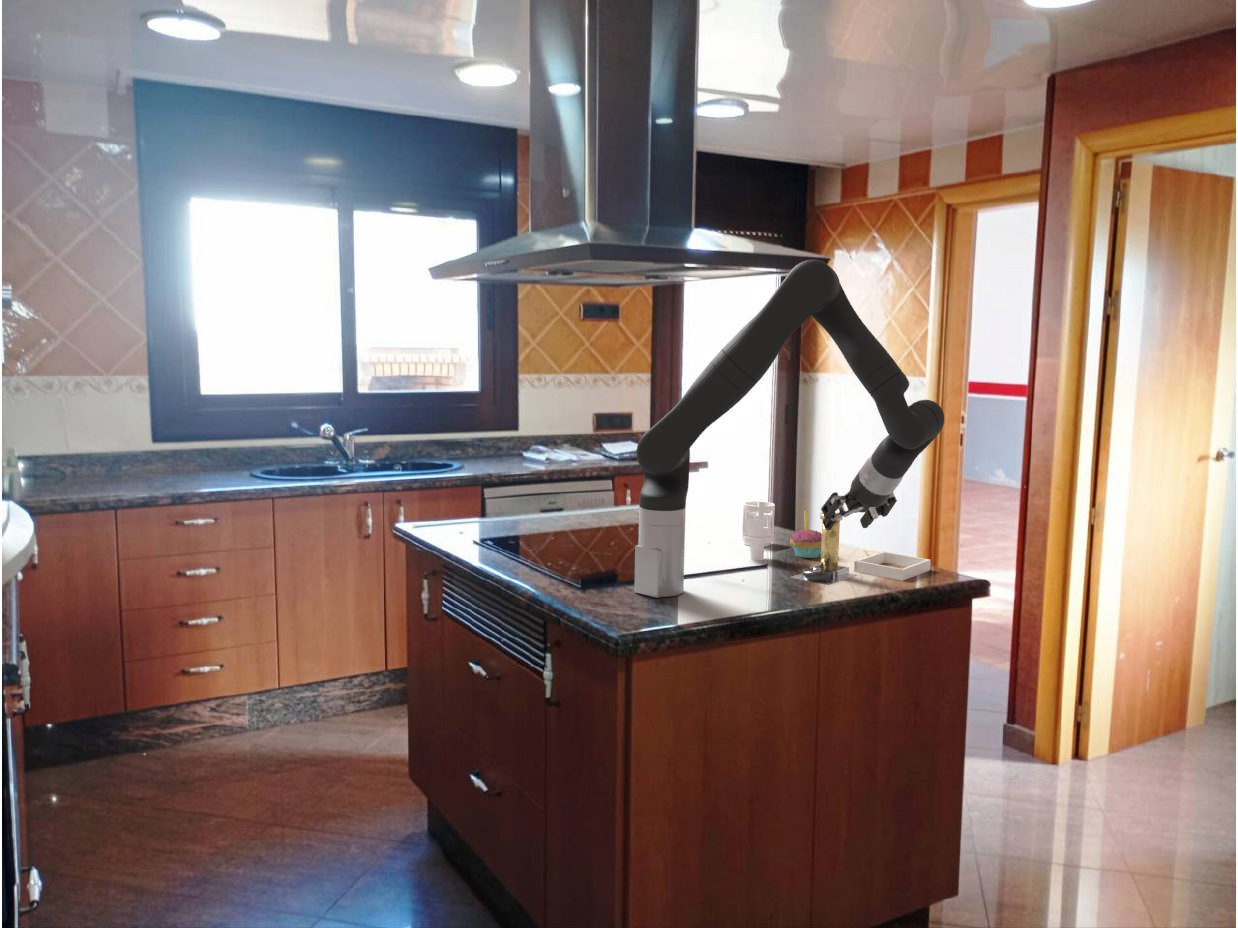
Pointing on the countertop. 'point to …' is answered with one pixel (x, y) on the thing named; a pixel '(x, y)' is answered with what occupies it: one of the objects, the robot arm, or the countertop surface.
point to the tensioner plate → (835, 575)
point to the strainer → (757, 526)
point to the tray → (912, 567)
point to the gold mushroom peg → (830, 546)
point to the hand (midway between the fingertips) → (844, 525)
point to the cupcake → (806, 541)
